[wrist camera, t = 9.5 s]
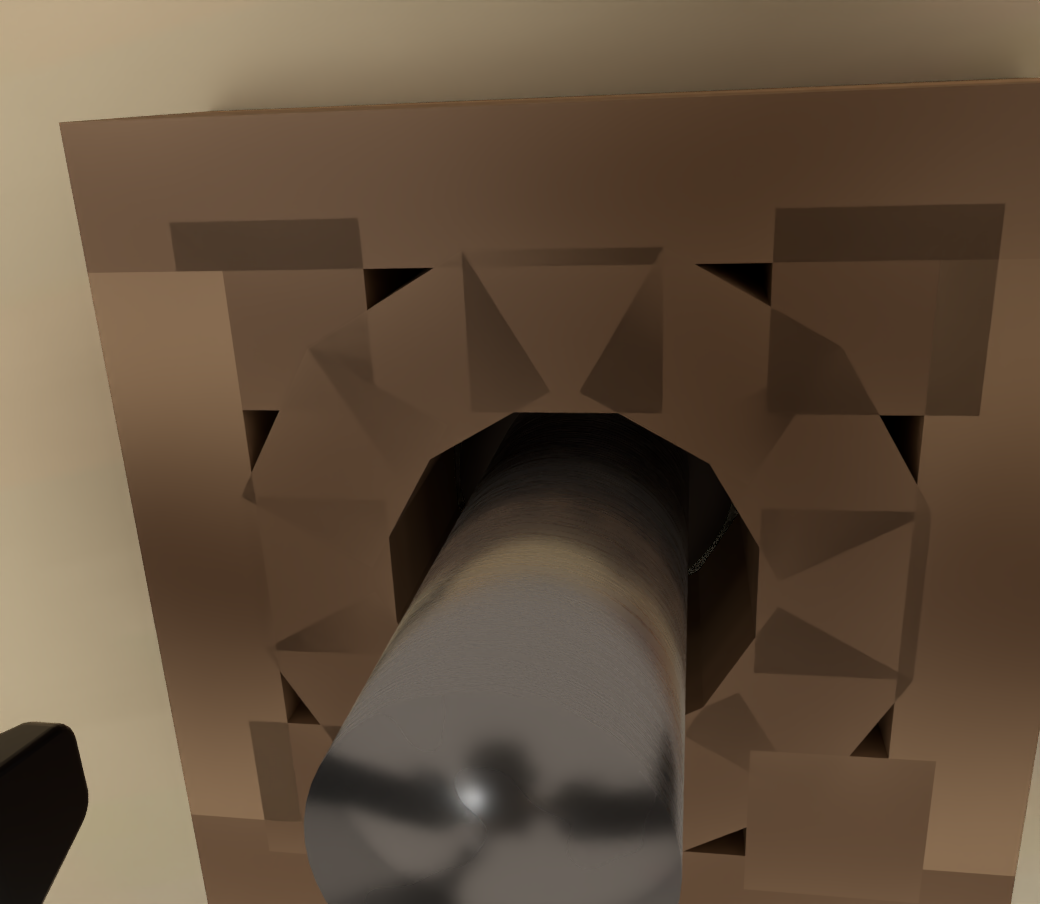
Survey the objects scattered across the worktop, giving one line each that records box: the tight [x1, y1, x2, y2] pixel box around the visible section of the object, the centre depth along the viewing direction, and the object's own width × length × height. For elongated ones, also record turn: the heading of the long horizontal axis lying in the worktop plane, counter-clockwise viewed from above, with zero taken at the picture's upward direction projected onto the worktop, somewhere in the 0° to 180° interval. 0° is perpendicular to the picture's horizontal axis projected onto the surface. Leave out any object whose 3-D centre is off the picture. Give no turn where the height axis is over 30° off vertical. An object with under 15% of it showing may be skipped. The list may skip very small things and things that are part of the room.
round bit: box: [304, 412, 690, 904], centre depth 12 cm, size 3×3×9 cm
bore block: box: [59, 78, 1040, 904], centre depth 15 cm, size 12×12×4 cm
